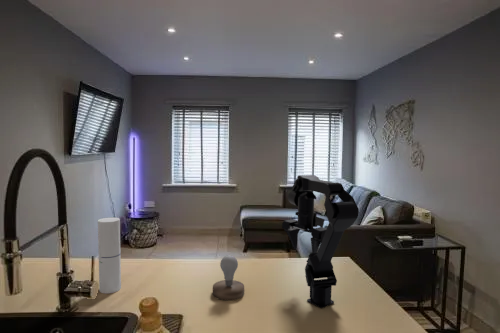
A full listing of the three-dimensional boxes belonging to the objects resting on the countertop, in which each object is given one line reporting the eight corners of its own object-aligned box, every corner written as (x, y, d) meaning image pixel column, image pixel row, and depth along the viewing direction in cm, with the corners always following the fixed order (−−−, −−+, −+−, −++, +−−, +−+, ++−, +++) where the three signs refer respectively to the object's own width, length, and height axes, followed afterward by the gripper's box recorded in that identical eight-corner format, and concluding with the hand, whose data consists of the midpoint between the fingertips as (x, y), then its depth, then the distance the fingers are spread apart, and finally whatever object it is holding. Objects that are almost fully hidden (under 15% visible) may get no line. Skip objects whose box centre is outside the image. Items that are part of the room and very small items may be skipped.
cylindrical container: (113, 294, 120) (112, 222, 118) (95, 292, 122) (93, 221, 120) (124, 285, 127) (123, 218, 125) (107, 283, 129) (105, 216, 127)
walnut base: (250, 294, 122) (250, 287, 121) (224, 303, 115) (224, 296, 115) (231, 283, 130) (232, 277, 130) (206, 291, 123) (206, 284, 123)
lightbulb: (235, 281, 126) (235, 252, 125) (239, 289, 120) (240, 257, 119) (218, 283, 124) (218, 253, 123) (222, 291, 118) (222, 259, 117)
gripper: (341, 211, 125) (339, 254, 126) (301, 203, 139) (300, 241, 140) (320, 215, 117) (319, 260, 119) (281, 206, 132) (280, 246, 133)
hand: (304, 251), depth 128 cm, fingers open, 9 cm apart
